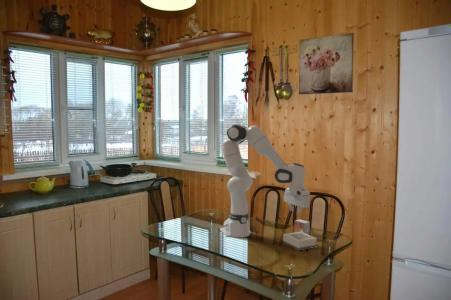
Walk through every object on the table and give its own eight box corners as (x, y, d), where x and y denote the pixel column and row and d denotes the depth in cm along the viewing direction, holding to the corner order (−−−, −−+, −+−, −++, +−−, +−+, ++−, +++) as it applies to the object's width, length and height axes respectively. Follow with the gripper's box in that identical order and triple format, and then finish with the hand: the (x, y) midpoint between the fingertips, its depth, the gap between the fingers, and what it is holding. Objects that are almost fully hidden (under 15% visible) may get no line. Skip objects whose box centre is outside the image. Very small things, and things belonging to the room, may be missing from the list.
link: (283, 240, 210) (283, 234, 210) (300, 237, 217) (301, 231, 216) (298, 247, 198) (298, 241, 197) (316, 244, 204) (316, 238, 204)
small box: (293, 236, 225) (294, 220, 224) (299, 234, 228) (300, 219, 228) (303, 239, 219) (304, 223, 218) (309, 237, 222) (310, 221, 222)
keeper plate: (284, 243, 209) (284, 230, 209) (301, 240, 216) (302, 228, 215) (299, 251, 197) (299, 237, 196) (317, 247, 204) (318, 234, 203)
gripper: (281, 187, 217) (280, 208, 218) (303, 193, 199) (302, 216, 200) (289, 186, 220) (288, 207, 221) (311, 192, 202) (310, 215, 203)
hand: (295, 212), depth 211 cm, fingers open, 5 cm apart
